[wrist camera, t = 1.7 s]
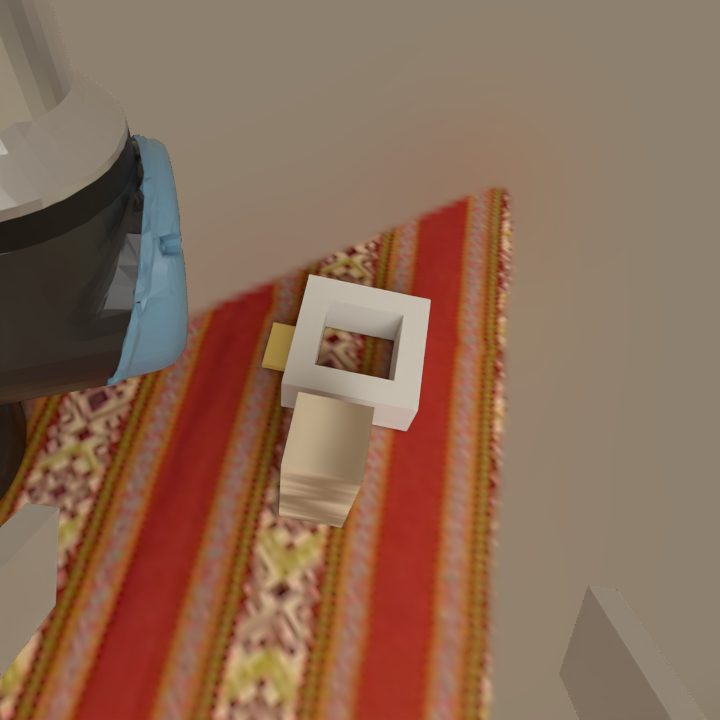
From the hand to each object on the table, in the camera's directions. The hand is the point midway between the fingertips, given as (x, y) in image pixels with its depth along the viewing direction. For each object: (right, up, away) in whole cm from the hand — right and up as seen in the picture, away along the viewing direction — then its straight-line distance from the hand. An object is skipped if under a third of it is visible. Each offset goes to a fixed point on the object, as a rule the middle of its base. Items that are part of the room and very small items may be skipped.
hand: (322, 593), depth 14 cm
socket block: (-1, +6, +33) cm, 33 cm away
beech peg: (-2, -4, +27) cm, 27 cm away
